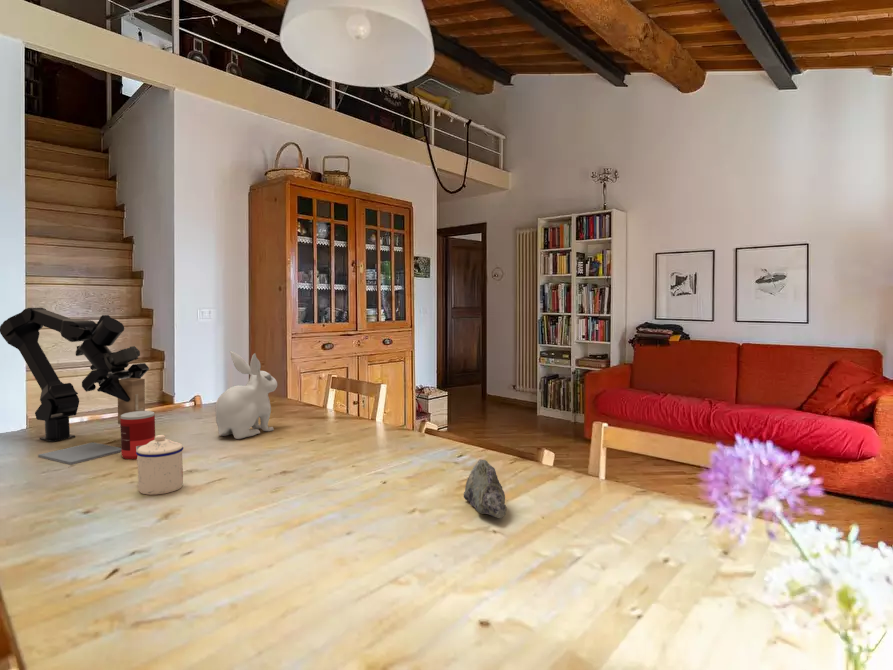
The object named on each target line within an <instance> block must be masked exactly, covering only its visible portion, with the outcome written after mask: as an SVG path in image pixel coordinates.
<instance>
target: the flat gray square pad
mask: <svg viewBox="0 0 893 670" xmlns="http://www.w3.org/2000/svg"><path fill="white" fill-rule="evenodd" d="M118 453H121V447H119V446H118V447H117V446H114V445H113V446H112V445H108V444H104V443H98V442H93V441H92V442H87V443H84V444H80V445H74V446H71V447H67V448H62V449H57V450H53V451H49V452H44V453H39V454H37V457H38V458H41V459H46V460H50V461H53V462H54V461H55V462H59V463H63V464H67V465H70V466H71V465H75V464H79V463H82V462H86V461H90V460H95V459H98V458H99V459H100V458H102V457H103V458H104V457H106V456H110V455H115V454H118Z"/></svg>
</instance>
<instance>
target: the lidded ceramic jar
mask: <svg viewBox="0 0 893 670" xmlns="http://www.w3.org/2000/svg"><path fill="white" fill-rule="evenodd" d="M183 450H184V447H183V444H182V443H181V442H177V441H172V440H171V439H167V438H166V436H165V435H164V434H158V435H157V434H156V435H155V440H153V441H151V442H149V443H148V444H146V445H143V446H141V447H139V448H138V449H137V452H136V454H137V455H138V456H137V459H136V464H137V474H138V475H137V480H138V482H137V484H138V485H137V486H138V492H139V493H140V494H144V495H147V496H148V495H149V496H150V495H151V496H155V495H157V496H158V495H163V494H170V493H172V492H175V491H177V490H180V489H181V488H182V487H183V485H184V474H183V472H184V469H183V468H184V467H183Z"/></svg>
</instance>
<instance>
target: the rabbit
mask: <svg viewBox="0 0 893 670" xmlns="http://www.w3.org/2000/svg"><path fill="white" fill-rule="evenodd" d="M229 353H230V356H231V361H232V363H233V366H234V367H235V369H236V370H237V372H239V373H241V374H243V375H249V376H250V377H249V380H248V381H247V383H246V385H235V386H234V385H233V386H231V387H229V388H228V389H226V390H225V391H224V392H222V393H221V394H220V395H219V396H218V398H217V400H216V403H215V423H216V426H217V431H218V436H222V437H223V436H224V437H225V436H230V435H233V438H234V439H236V440H241V439H245V438H249V437H253V436H256V435H257V434H258V435H259V434H261V431H260V430H259V429H261V430H262V431H263V432H272V431H273V432H274V430H275V429H274V427H273V426H269V420H270V417H271V412H272V405H271V401H270V397H269V393H270V394H271V393H273V392H274V391H276V389H277V387H278V381H277V379H276V378H275V377H274V376H272V375H271V373H270V372H267V371H265V370H261V367H262V366H261V365H262V364H261V362H260V359H258V357H257V353H256V352H255V353H253V354H252V356H251V359H250V362H249V363H250V364H249V363H248V362H247V361H246V360H245V358H243V357H242V356H241V355H239V354H238V353H237V352H235V351H232V350H230V351H229ZM259 419H260V420H259ZM259 421H260V424H259Z"/></svg>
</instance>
